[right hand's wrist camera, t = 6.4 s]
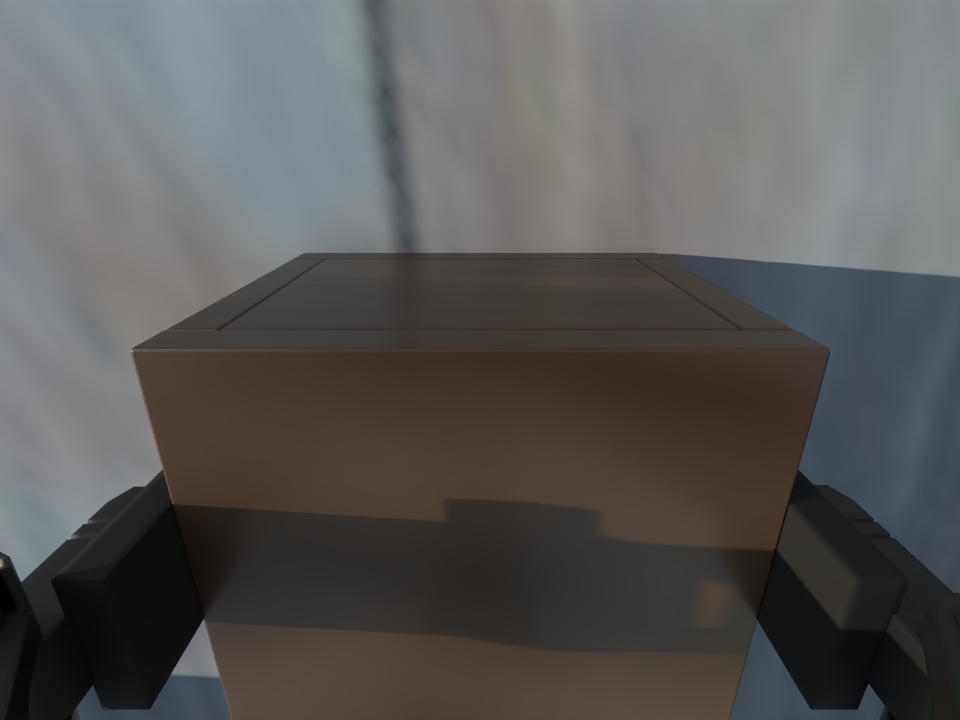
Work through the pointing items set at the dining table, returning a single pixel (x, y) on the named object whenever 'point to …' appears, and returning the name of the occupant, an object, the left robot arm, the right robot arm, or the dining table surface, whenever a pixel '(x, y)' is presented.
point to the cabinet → (480, 483)
